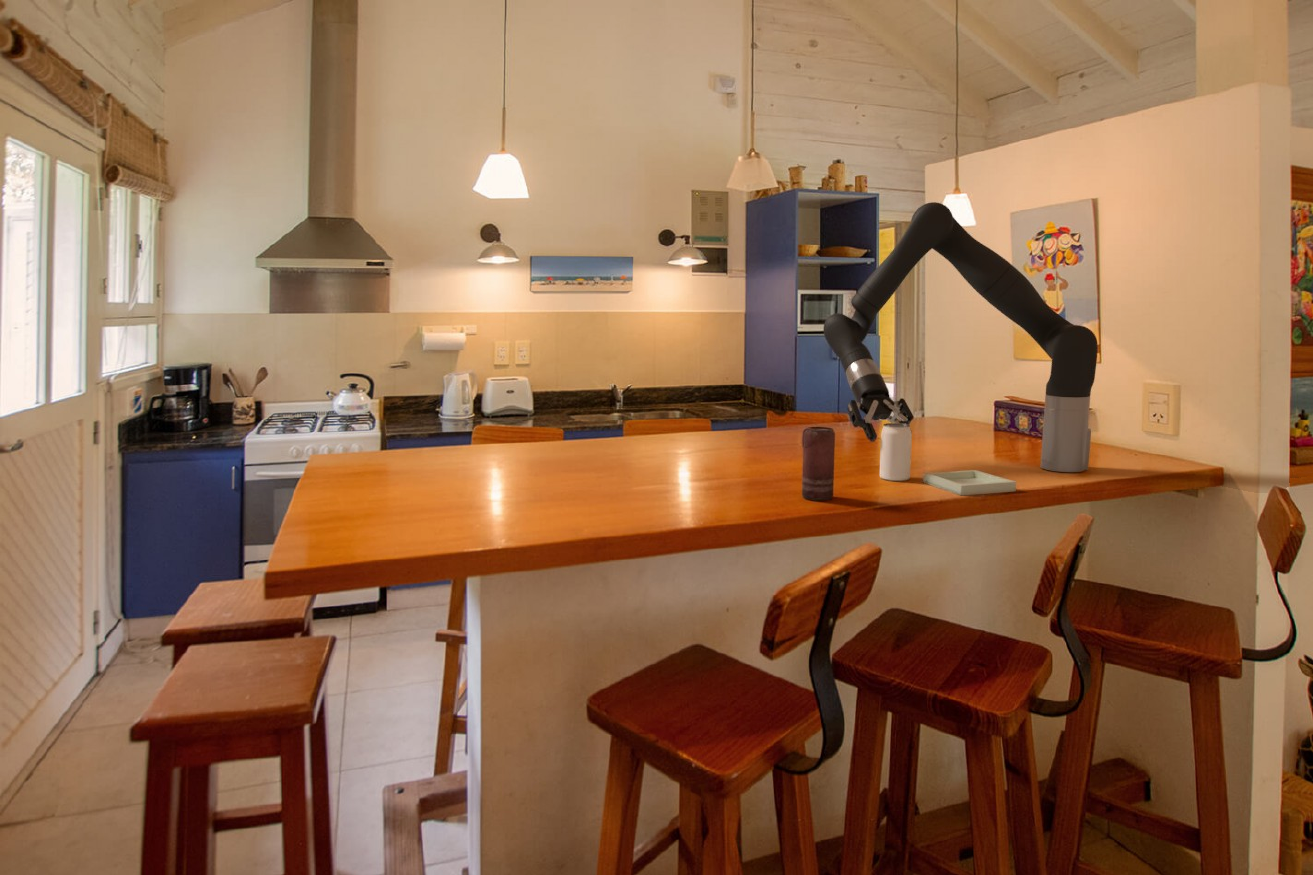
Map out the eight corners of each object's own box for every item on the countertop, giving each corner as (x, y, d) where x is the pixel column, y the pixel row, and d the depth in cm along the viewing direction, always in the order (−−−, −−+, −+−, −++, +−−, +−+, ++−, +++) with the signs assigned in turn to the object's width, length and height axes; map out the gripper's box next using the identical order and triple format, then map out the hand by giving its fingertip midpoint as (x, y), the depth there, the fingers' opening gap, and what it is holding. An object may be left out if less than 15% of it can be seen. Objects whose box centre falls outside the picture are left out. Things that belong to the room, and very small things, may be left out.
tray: (974, 478, 179) (975, 470, 179) (1015, 491, 167) (1016, 481, 166) (922, 482, 176) (923, 473, 175) (960, 495, 163) (961, 485, 163)
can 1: (797, 494, 164) (798, 426, 162) (828, 494, 165) (829, 425, 163) (805, 501, 158) (806, 430, 156) (837, 501, 159) (839, 430, 157)
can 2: (906, 475, 183) (908, 423, 181) (912, 481, 176) (915, 427, 174) (877, 475, 183) (879, 422, 181) (882, 481, 177) (884, 426, 175)
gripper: (845, 373, 185) (869, 430, 175) (900, 371, 188) (927, 427, 179) (833, 394, 190) (856, 450, 181) (887, 392, 194) (912, 447, 185)
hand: (891, 438), depth 180 cm, fingers open, 8 cm apart
